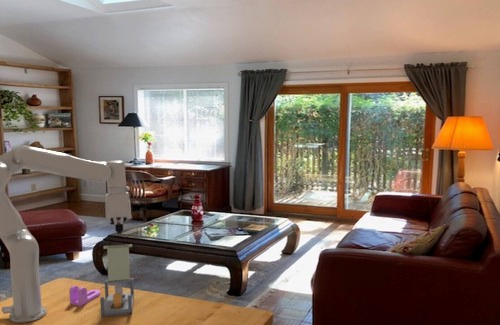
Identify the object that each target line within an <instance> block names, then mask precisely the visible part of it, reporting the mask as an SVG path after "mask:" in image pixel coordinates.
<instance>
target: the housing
mask: <svg viewBox="0 0 500 325" xmlns="http://www.w3.org/2000/svg"><path fill="white" fill-rule="evenodd" d="M129 284H130V292H126V293H124V292H123V289H124V288H123V286H122V285H115V286H114V293H113V294H109V283H108V279H107V280H104V294H105V295H104V296H100V298H99V301H100V315H101V318H103V317H104V318H106V317H114V316H116V317H117V316H125V315H132V314H133V309H134V308H133V307H134V301H135V290H134V278H131V277H130V282H129ZM117 293H119V294H121V302H122V308H118V309H114V305H113V295H114V294H117Z"/></svg>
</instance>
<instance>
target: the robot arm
mask: <svg viewBox="0 0 500 325" xmlns="http://www.w3.org/2000/svg"><path fill="white" fill-rule="evenodd" d="M23 169H26V170H30V171H35V172H42V173H46V174H51V175H52V174H53V175H56V176H62V177H68V178H75V179H80V180H85V181H91V182H94V183H105V182H106V187H107V193H106V194H105V204H104V208H105V210H104V211H105V221H107V222H112V223H113V224H114V225H115V233H116V232H117V234H120V235H121V234H122V233H123V232H124V223H125V222H126V221H127V220H131V219H132V218H133V216H132V207H131V206H132V205H131V198H130V194H129V190H131V187H130V186H127V178H126V164H125V162H124V161H123V160H116V159H115V160H108V161H94V160H93V161H91V160H88V159H87V160H86V159H84V158H79V157H76V156H73V155H71V154H67V153H63V152H59V151H55V150H54V151H53V150H49V149H44V148H39V147H35V146H30V145H28V144H27V145H26V144H23V145H19V146H17V147H14V148H12V149H10V150H9V151H7V152H4V153H2V154H1V155H0V240H1V241H2V243H3V244H4V245H5V247H6V249H7V250H8V253H9V259H10V261H9V262H10V265H9V266H10V278H11V279H10V280H11V290H12V304H11V305H9V306H8V305H6V306H5V305H4V306H2V307H1V312H2V313H3V314H4V315H5V314H6V315H7V314H9V320H10V322H13V323H17V324H18V323H19V324H23V323H24V324H25V323H29V322H34V321H37V320H39V319H42V317H44V316H45V315H46V314H47V308H46V307H45V306H44V305H43V304H42V291H41V278H40V277H41V276H40V262H39V261H40V258H39V257H40V247H39V244H38V241H37V240H36V238H35V237H34V235H32V233H31V232H30V231H29V229H28V228H27V226H26V224H25V222H24V221H23V219H22V216H21V214H20V213H19V212H18V210H17V209H16V208H15V206H14V205H13V203H12V202H11V200H10V197H9V196H8V195H7V192H6V186H7V184H8V183H9V181H10V180H11V178H12V176H13V175H14V174H17V173H19V172H20V171H22V170H23ZM118 218H120V221H119V220H118Z"/></svg>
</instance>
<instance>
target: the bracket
mask: <svg viewBox="0 0 500 325" xmlns="http://www.w3.org/2000/svg"><path fill="white" fill-rule="evenodd" d="M68 291H69V295H68V296H69V304H70V305H74V306H78V307H82V306H84V305H85V304H87V303H89V302H91V301H92V300H94V299H96V298H98V297H99V296H100V295H101V290H100V289H91V290H90V289H89V290H88V289H87V288H86V287H85V286H80V287H79V286H78V285H72V286H70V288H69V290H68Z"/></svg>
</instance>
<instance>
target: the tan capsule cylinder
mask: <svg viewBox="0 0 500 325" xmlns="http://www.w3.org/2000/svg"><path fill="white" fill-rule="evenodd" d="M113 294H114V295H113ZM113 294H112V295H113V305H114V309H118V308H122V302H121V294H119V293H117V294H115V293H113Z"/></svg>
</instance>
